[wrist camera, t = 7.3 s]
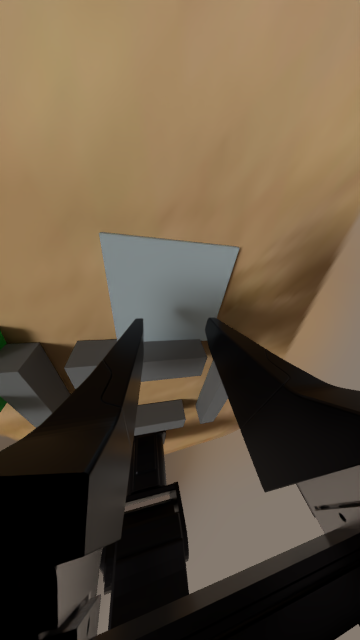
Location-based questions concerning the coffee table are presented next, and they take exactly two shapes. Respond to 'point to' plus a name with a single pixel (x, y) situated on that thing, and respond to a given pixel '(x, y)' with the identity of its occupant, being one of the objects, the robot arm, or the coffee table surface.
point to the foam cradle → (50, 392)
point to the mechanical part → (0, 344)
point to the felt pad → (165, 284)
